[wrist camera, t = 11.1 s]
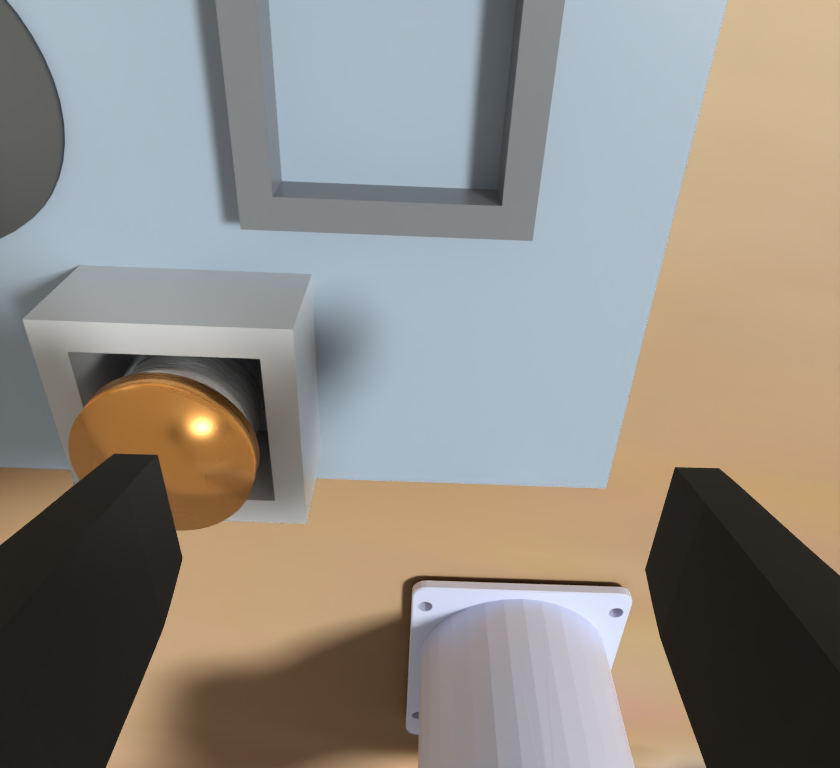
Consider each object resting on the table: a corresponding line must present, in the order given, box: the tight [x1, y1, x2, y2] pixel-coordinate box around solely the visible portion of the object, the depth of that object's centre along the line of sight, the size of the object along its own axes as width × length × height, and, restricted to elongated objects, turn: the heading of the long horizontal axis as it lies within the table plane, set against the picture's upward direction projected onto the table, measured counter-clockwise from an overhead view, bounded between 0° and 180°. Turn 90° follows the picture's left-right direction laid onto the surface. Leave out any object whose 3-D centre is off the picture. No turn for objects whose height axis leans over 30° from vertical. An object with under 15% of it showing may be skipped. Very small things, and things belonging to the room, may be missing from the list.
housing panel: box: [0, 0, 727, 524], centre depth 16 cm, size 16×22×4 cm
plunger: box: [68, 354, 265, 530], centre depth 17 cm, size 4×4×4 cm
